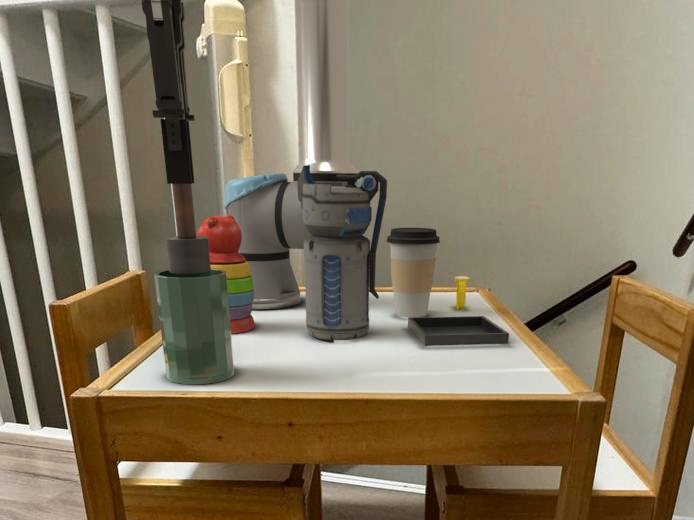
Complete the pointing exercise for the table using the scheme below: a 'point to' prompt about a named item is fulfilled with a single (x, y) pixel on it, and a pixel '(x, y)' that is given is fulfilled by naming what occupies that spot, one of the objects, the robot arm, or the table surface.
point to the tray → (457, 330)
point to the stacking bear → (231, 268)
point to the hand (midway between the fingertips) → (181, 183)
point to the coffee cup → (412, 269)
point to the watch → (461, 291)
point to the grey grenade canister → (340, 252)
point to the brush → (186, 236)
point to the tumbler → (195, 326)
